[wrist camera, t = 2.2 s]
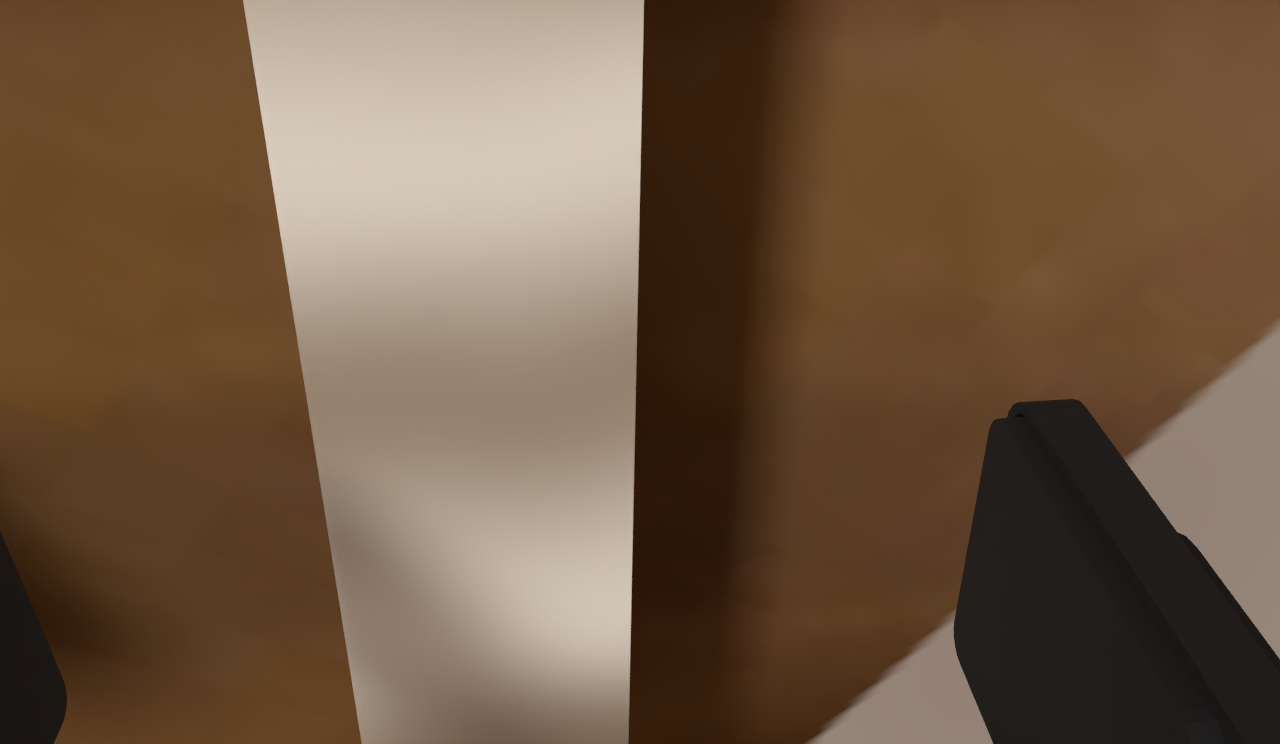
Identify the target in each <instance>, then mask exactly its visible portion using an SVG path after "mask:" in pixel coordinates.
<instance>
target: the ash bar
mask: <svg viewBox="0 0 1280 744" xmlns="http://www.w3.org/2000/svg"><path fill="white" fill-rule="evenodd" d="M243 2H244V8H245V15H246V21H247V27H248V33H249V40H250V46H251V52H252V59H253V65H254V71H255V77H256V84H257V90H258V96H259V102H260V109H261V115H262V121H263V127H264V134H265V140H266V146H267V152H268V159H269V165H270V171H271V178H272V184H273V190H274V196H275V203H276V209H277V215H278V221H279V228H280V234H281V240H282V246H283V253H284V259H285V265H286V271H287V278H288V284H289V290H290V297H291V303H292V309H293V315H294V322H295V328H296V334H297V340H298V347H299V353H300V359H301V365H302V372H303V378H304V384H305V390H306V397H307V403H308V409H309V416H310V422H311V428H312V434H313V441H314V447H315V453H316V459H317V466H318V472H319V478H320V484H321V491H322V497H323V503H324V509H325V516H326V522H327V528H328V535H329V541H330V547H331V553H332V560H333V566H334V572H335V578H336V585H337V591H338V597H339V603H340V610H341V616H342V622H343V628H344V635H345V641H346V647H347V654H348V660H349V666H350V672H351V679H352V685H353V691H354V697H355V704H356V710H357V716H358V722H359V729H360V735H361V741H362V744H628V741H629V694H630V646H631V599H632V551H633V504H634V456H635V409H636V361H637V314H638V266H639V219H640V171H641V124H642V76H643V29H644V0H243Z"/></svg>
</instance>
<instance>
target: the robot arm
mask: <svg viewBox="0 0 1280 744" xmlns="http://www.w3.org/2000/svg"><path fill="white" fill-rule="evenodd" d="M954 640H955V647H956V652H957V656H958V659H959V662H960V664H961V667H962V669H963V672H964V674H965V676H966V679H967V681H968V684H969V686H970V689H971V691H972V693H973V696H974V698H975V700H976V703H977V705H978V707H979V710H980V712H981V715H982V717H983V720H984V722H985V724H986V727H987V729H988V732H989V734H990V736H991V739H992V741H993V744H1280V659H1279V658H1278V657H1277V655H1276V654H1275V652H1274V651H1273V650H1272V648H1271V647H1270V645H1269V644H1268V643H1267V641H1266V640H1265V639H1264V637H1263V636H1262V635H1261V633H1260V632H1259V631H1258V629H1257V628H1256V627H1255V625H1254V624H1253V623H1252V621H1251V620H1250V619H1249V617H1248V616H1247V615H1246V613H1245V612H1244V610H1243V609H1242V608H1241V606H1240V605H1239V604H1238V602H1237V601H1236V600H1235V598H1234V597H1233V596H1232V594H1231V593H1230V591H1229V590H1228V589H1227V587H1226V586H1225V585H1224V583H1223V582H1222V581H1221V579H1220V578H1219V577H1218V575H1217V574H1216V573H1215V571H1214V570H1213V568H1212V567H1211V566H1210V565H1209V563H1208V562H1207V560H1206V559H1205V558H1204V556H1203V555H1202V554H1201V552H1200V551H1199V550H1198V548H1197V547H1196V546H1195V545H1194V544H1193V543H1192V542H1191V541H1190V540H1189V539H1188V538H1187V537H1186V536H1184V535H1182V534H1180V533H1177V532H1176V530H1175V529H1174V527H1173V526H1172V525H1171V523H1170V522H1169V521H1168V519H1167V518H1166V516H1165V515H1164V514H1163V512H1162V511H1161V510H1160V508H1159V507H1158V506H1157V504H1156V503H1155V501H1154V500H1153V499H1152V497H1151V496H1150V495H1149V493H1148V492H1147V491H1146V489H1145V488H1144V486H1143V485H1142V484H1141V482H1140V481H1139V480H1138V478H1137V477H1136V475H1135V474H1134V473H1133V471H1132V470H1131V469H1130V467H1129V466H1128V464H1127V463H1126V462H1125V460H1124V459H1123V458H1122V456H1121V455H1120V453H1119V452H1118V451H1117V449H1116V448H1115V447H1114V445H1113V444H1112V442H1111V441H1110V440H1109V438H1108V437H1107V436H1106V434H1105V433H1104V432H1103V430H1102V429H1101V427H1100V426H1099V425H1098V423H1097V422H1096V421H1095V419H1094V418H1093V416H1092V415H1091V414H1090V412H1089V411H1088V410H1087V408H1086V407H1085V406H1084V405H1083V404H1082V403H1081V402H1080V401H1078V400H1074V399H1067V400H1049V401H1032V402H1018V403H1016V404H1014V405H1013V406H1012V407H1011V409H1010V411H1009V413H1008V416H1007V418H1001V419H996V420H994V421H993V423H992V424H991V427H990V430H989V434H988V440H987V445H986V451H985V456H984V462H983V467H982V473H981V478H980V484H979V489H978V495H977V500H976V506H975V511H974V517H973V522H972V528H971V533H970V538H969V544H968V549H967V555H966V560H965V566H964V571H963V577H962V582H961V588H960V593H959V599H958V604H957V610H956V615H955V621H954ZM66 703H67V695H66V687H65V684H64V681H63V678H62V676H61V674H60V671H59V669H58V666H57V664H56V662H55V659H54V657H53V655H52V652H51V650H50V648H49V645H48V643H47V641H46V638H45V636H44V634H43V631H42V629H41V626H40V624H39V622H38V619H37V617H36V615H35V612H34V610H33V608H32V605H31V603H30V601H29V598H28V596H27V594H26V591H25V589H24V586H23V584H22V582H21V579H20V577H19V575H18V572H17V570H16V568H15V565H14V563H13V561H12V558H11V556H10V554H9V551H8V549H7V546H6V544H5V542H4V539H3V537H2V535H1V532H0V744H54V741H55V739H56V737H57V735H58V733H59V730H60V728H61V726H62V723H63V720H64V717H65V712H66Z"/></svg>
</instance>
